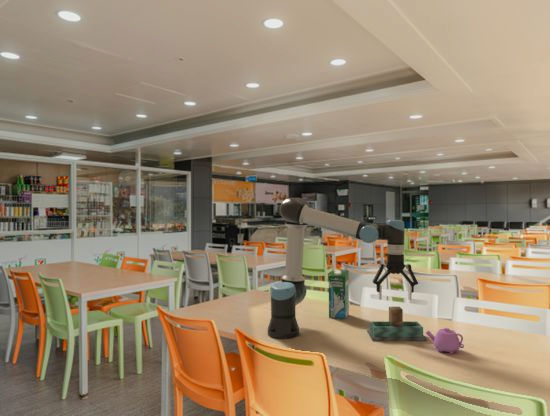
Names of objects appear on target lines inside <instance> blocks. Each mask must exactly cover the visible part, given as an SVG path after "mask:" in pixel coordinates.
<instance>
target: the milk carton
mask: <svg viewBox="0 0 550 416" xmlns="http://www.w3.org/2000/svg"><path fill="white" fill-rule="evenodd" d="M349 272H350V271H349V269H340V268H339V269H338V268H336V269H335V268H334V269H333V268H332V269H331V271H330V273H329V274H328V318H331V319H341V320H346V319H347V318H348V317H349V314H350V309H349V308H350V303H349V302H350V297H349V296H350V294H349V293H350V290H349V289H350V287H349V286H350V285H349V284H350V283H349V279H350V278H349V275H350V274H349Z"/></svg>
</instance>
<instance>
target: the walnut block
mask: <svg viewBox="0 0 550 416" xmlns="http://www.w3.org/2000/svg"><path fill="white" fill-rule="evenodd" d="M403 310H404V309H403V308H402V307H401V306H388V321H389V327H403V319H404V318H403V317H404V315H403V313H404V311H403Z"/></svg>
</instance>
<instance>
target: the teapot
mask: <svg viewBox="0 0 550 416" xmlns="http://www.w3.org/2000/svg"><path fill="white" fill-rule="evenodd" d="M425 334H426V335H427V336H428V337H429V338H430V339H431V340H432V342H433V346H434V347H435V349H436V350H437V352H438V351H439V352H438V353H443V352H447V353H448V354H450V353H451V355H454V354H455V352H458V350H459V349H464V347H465V344H463V342H464V337H463V335H462V334H461V333H457V332H456V331H455V330H452V329H450V328H449V327H443V328H440V329H439V330H438V331H437V332H436V333H435V336H434V335H433V334H432V332H431V331H429V330H427V331H426V332H425ZM458 336H459V337H460V339H459V337H458ZM453 353H454V354H453Z"/></svg>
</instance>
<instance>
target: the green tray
mask: <svg viewBox="0 0 550 416" xmlns="http://www.w3.org/2000/svg"><path fill="white" fill-rule="evenodd" d="M366 332H367V335H368V336H369V337H370V339H371V341H372V342H427V339H428V338H427V337H426V336H425V335H424V327H423V325H421V323H419V322H418V321H414V320H413V321H410V320H406V321H403V327H389V320H387V321H383V320H382V321H379V320H378V321H375V320H374V321H369V329H367V331H366Z"/></svg>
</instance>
